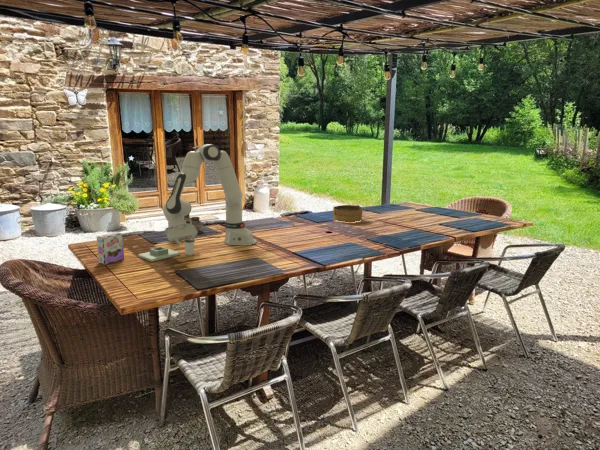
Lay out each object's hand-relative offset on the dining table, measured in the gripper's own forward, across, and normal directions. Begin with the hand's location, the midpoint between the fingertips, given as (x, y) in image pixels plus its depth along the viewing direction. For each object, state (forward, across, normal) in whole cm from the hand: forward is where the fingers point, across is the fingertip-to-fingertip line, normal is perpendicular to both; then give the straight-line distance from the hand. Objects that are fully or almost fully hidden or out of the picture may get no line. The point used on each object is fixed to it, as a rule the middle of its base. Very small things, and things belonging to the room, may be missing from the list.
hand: (187, 243), depth 294 cm
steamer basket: (+13, +153, -4) cm, 154 cm away
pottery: (-32, +40, +42) cm, 67 cm away
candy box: (-8, -41, +18) cm, 45 cm away
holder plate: (-1, -15, +10) cm, 19 cm away
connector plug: (+6, 0, +4) cm, 7 cm away
